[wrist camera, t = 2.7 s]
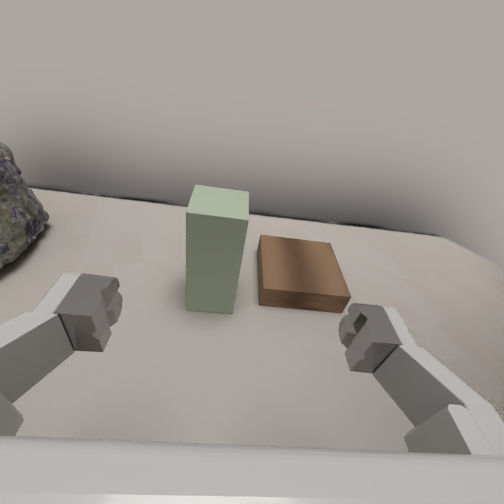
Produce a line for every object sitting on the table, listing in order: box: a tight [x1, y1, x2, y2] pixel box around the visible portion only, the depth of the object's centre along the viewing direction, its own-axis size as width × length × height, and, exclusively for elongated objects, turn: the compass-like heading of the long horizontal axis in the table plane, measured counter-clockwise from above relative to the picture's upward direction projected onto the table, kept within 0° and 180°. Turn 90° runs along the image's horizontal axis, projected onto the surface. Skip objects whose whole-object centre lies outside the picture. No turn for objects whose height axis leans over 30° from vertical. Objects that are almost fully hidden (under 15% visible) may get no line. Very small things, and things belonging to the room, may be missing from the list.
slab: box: [257, 235, 351, 313], centre depth 31 cm, size 9×9×3 cm
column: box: [186, 185, 249, 314], centre depth 24 cm, size 4×4×11 cm
